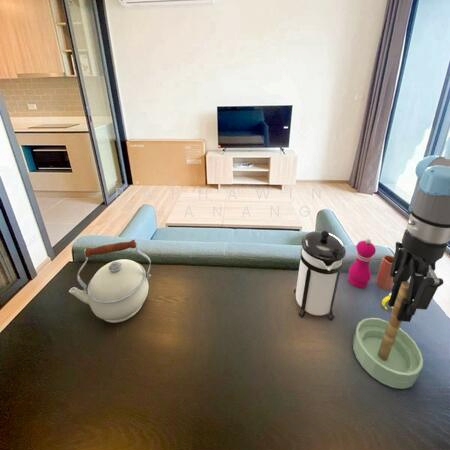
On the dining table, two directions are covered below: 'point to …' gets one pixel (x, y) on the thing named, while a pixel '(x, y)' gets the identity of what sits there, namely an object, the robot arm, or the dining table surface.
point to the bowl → (398, 358)
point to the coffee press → (319, 273)
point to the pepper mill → (362, 264)
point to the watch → (386, 301)
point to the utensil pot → (385, 273)
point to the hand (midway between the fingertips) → (398, 312)
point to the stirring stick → (393, 324)
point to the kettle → (115, 285)
